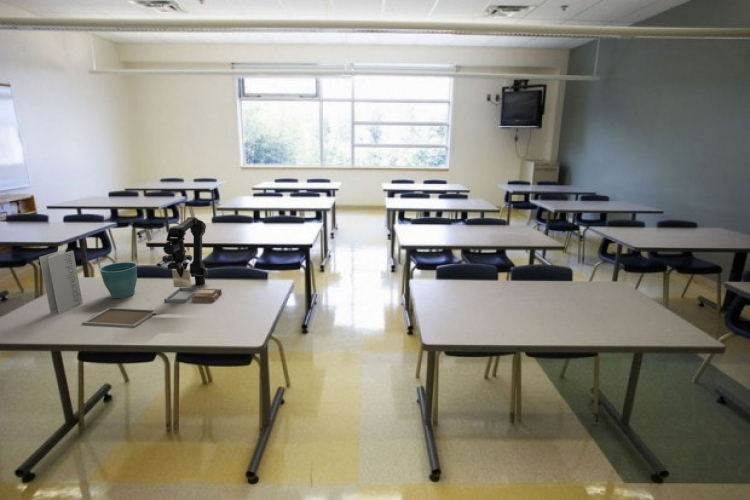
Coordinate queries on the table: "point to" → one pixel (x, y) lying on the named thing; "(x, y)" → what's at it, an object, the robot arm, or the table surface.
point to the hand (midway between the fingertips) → (181, 276)
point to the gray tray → (179, 291)
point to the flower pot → (120, 279)
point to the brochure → (61, 281)
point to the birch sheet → (181, 278)
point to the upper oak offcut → (204, 293)
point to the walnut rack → (207, 299)
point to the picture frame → (120, 317)
